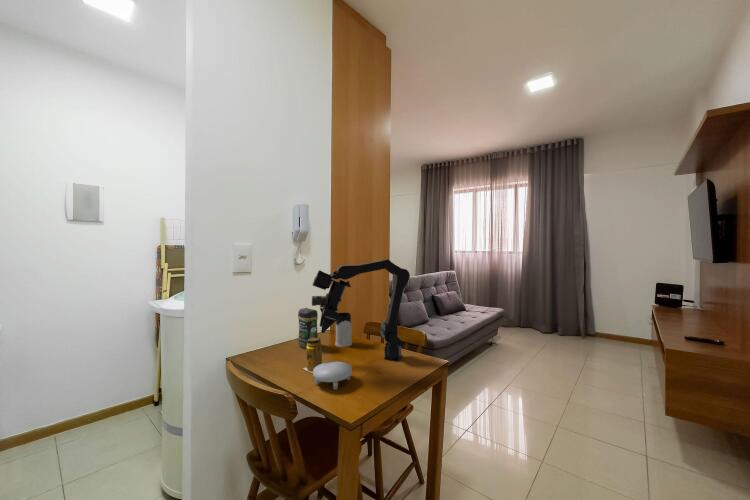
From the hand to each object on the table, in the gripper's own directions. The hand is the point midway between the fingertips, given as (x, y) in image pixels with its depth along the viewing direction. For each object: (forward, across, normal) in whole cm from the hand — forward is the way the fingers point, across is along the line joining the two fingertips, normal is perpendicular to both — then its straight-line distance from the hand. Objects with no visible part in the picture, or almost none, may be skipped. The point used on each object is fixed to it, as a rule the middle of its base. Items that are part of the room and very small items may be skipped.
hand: (321, 329), depth 122 cm
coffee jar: (+16, -26, +1) cm, 31 cm away
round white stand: (+13, +15, +8) cm, 22 cm away
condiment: (+15, +2, +4) cm, 16 cm away
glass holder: (+9, -27, +17) cm, 33 cm away
